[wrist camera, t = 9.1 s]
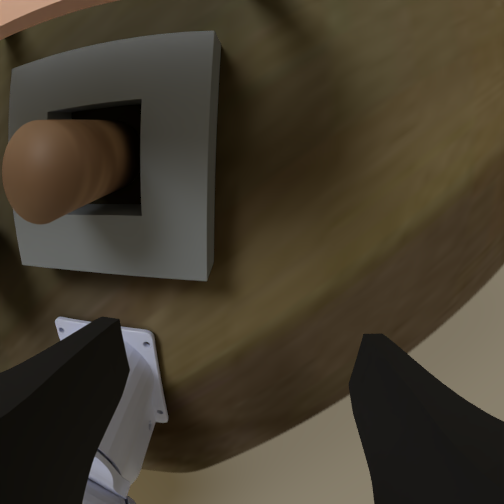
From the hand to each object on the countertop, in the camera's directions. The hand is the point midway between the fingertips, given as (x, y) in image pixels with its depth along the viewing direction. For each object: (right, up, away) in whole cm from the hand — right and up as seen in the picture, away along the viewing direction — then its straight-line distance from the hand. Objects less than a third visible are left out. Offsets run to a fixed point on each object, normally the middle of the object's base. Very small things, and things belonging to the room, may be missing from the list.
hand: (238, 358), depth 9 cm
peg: (-7, +8, +7) cm, 13 cm away
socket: (-7, +8, +7) cm, 13 cm away
